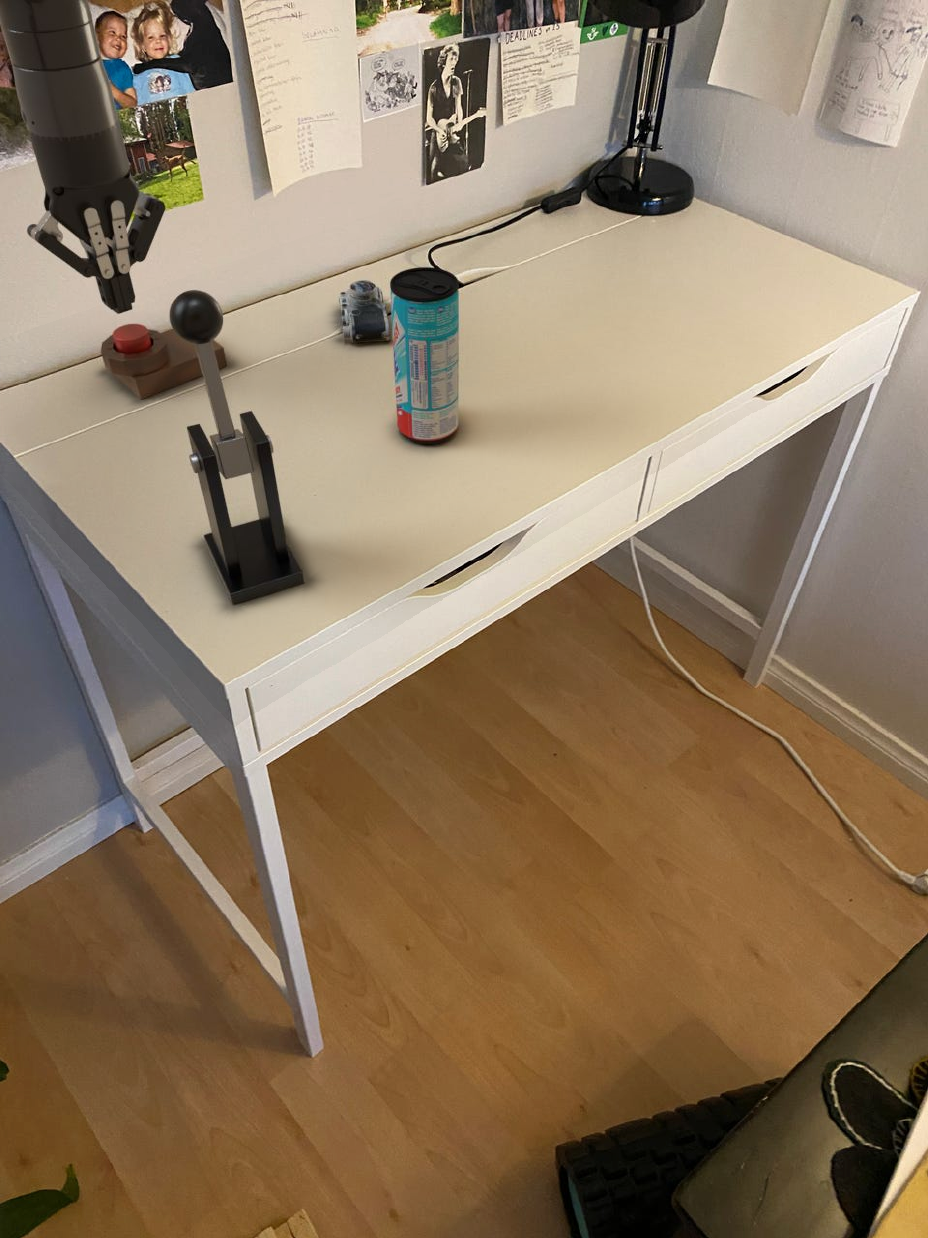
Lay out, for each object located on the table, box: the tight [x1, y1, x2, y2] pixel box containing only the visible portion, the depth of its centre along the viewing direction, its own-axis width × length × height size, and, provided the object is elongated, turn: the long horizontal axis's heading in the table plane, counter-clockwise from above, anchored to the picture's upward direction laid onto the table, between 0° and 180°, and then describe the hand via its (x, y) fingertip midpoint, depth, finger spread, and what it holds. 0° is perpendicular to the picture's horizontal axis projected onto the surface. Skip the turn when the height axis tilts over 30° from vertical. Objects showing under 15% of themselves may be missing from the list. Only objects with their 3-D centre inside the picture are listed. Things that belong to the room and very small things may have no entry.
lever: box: [168, 289, 254, 480], centre depth 68 cm, size 13×4×4 cm
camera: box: [338, 279, 391, 343], centre depth 106 cm, size 5×10×4 cm, turn 8°
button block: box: [100, 328, 228, 400], centre depth 99 cm, size 11×7×4 cm, turn 131°
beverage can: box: [389, 266, 460, 445], centre depth 87 cm, size 6×6×15 cm
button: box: [112, 323, 151, 354], centre depth 96 cm, size 3×3×2 cm
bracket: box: [186, 410, 305, 605], centre depth 74 cm, size 8×6×13 cm
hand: (121, 308), depth 93 cm, fingers closed
